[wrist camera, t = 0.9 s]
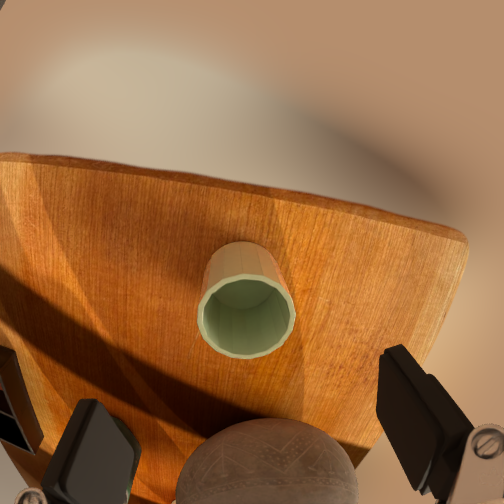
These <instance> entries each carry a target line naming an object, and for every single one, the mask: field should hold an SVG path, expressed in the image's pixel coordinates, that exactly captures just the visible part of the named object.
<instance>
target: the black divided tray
mask: <svg viewBox="0 0 504 504" xmlns="http://www.w3.org/2000/svg"><path fill="white" fill-rule="evenodd" d="M43 438H44V435H43V432H42V430H41V428H40V425H39V423H38V420H37V417H36V415H35V412H34V410H33V407H32V404H31V401H30V398H29V396H28V393H27V390H26V386H25V383H24V380H23V377H22V374H21V370H20V367H19V363H18V360H17V356H16V352H15V351H14V350H11V349H9V348H6V347H3V346H1V345H0V440H2V441H4V442H6V443H8V444H11V445H13V446H15V447H17V448H19V449H21V450H24V451H26V452H28V453H30V454H33V455H35V454H36V452H37V450H38V448H39V446H40V444H41V442H42V440H43Z"/></svg>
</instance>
